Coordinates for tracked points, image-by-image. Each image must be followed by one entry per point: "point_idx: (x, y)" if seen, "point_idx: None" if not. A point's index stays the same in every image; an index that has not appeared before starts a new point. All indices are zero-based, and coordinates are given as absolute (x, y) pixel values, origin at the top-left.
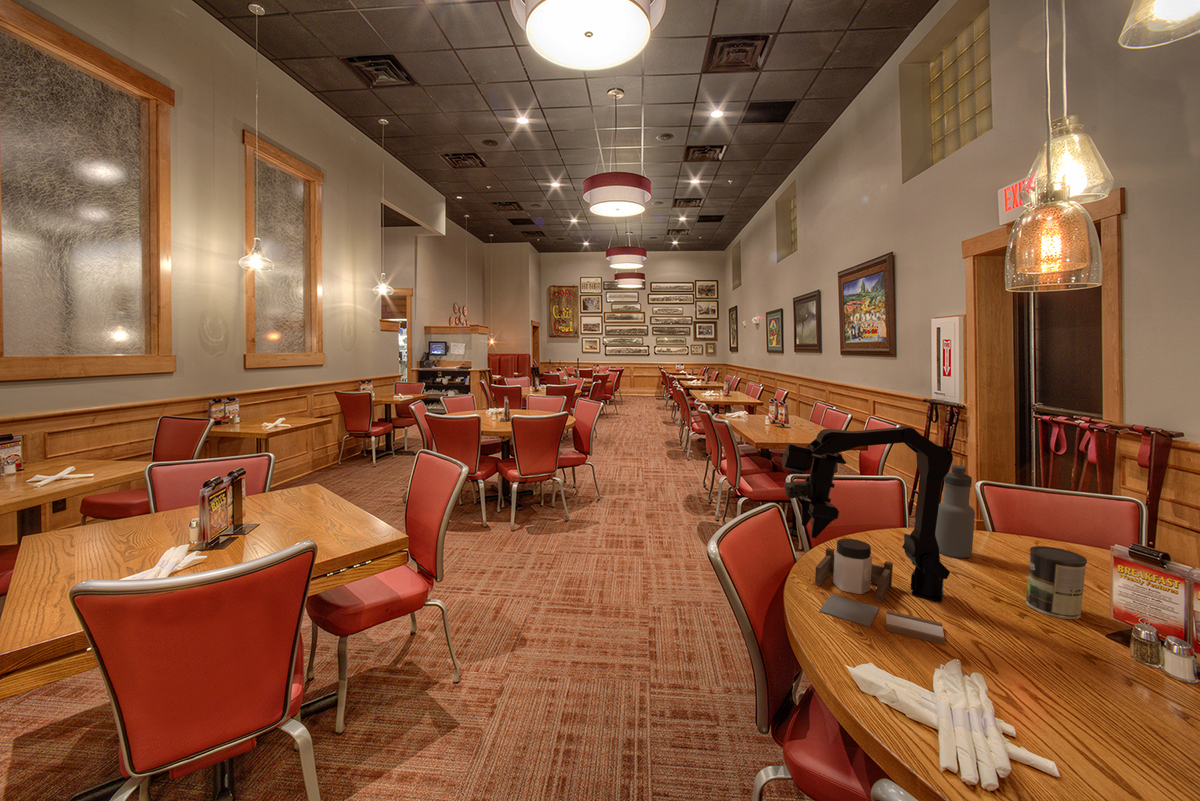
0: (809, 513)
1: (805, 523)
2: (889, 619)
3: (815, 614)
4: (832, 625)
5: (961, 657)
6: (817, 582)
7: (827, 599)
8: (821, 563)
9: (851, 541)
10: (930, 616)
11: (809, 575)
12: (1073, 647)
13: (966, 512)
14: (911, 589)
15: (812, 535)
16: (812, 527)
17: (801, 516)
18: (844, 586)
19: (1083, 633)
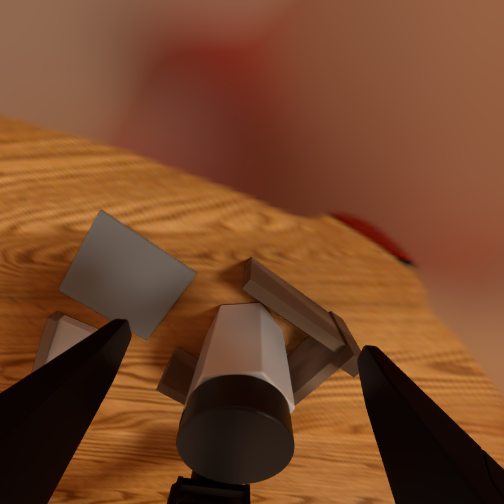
0: (415, 499)
1: (366, 375)
2: (87, 335)
3: (85, 194)
4: (41, 214)
5: (6, 375)
6: (247, 264)
7: (164, 253)
8: (278, 305)
9: (259, 453)
10: (136, 400)
11: (308, 265)
12: (89, 494)
13: None
14: None
15: (100, 330)
16: (27, 383)
17: (432, 405)
18: (216, 315)
19: None
